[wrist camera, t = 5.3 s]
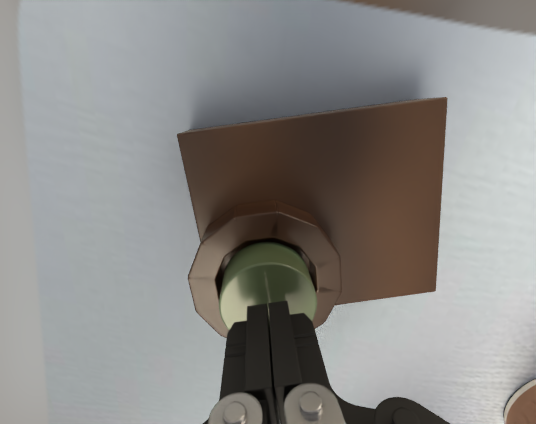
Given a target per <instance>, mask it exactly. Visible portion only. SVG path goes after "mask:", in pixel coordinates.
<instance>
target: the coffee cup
mask: <svg viewBox="0 0 536 424" xmlns="http://www.w3.org/2000/svg"><path fill="white" fill-rule="evenodd" d="M504 422H505V424H536V379H535V380H533V381H531V382H529V383H527V384H526V385H524V386H523V387H521V388H520V389H519V390H518V391H517V392H516V393H515V394H514V395H513V396H512V397H511V399H510V400H509V402H508V404H507V405H506V409H505V412H504Z"/></svg>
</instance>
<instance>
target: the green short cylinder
mask: <svg viewBox="0 0 536 424" xmlns="http://www.w3.org/2000/svg"><path fill="white" fill-rule="evenodd" d="M279 301H288V306H289V312H290V314H298V313H305V314H306V315H307V316H308V317H309V319H310V320H311V321H312V320H313V318H314V316H315V312H316V308H317V296H316V292H315V289H314V286H313V283H312V280H311V277H310V274H309V271H308V268H307V266H306V264H305V262H304V260H303V259H302V257H301V256H300V255H299V254H298V253H297V252H296V251H294V250H293V249H291V248H290V247H288V246H285V245H283V244H280V243H275V242H259V243H255V244H252V245H249V246H247V247H245V248H243V249H241V250H240V251H238V252H237V253H236V254H235V255H234V256H233V257H232V258H231V259H230V261H229V262H228V264H227V266H226V268H225V271H224V276H223V282H222V287H221V293H220V299H219V311H220V315H221V318H222V320H223V323H224V324H225V326H226V327H227V329H228V330H230V328H231V327H232V325H233V324H234V322H240V321H247V306H251V305H258V304H265V303H267V307H268V303H272V302H279ZM268 313H269V307H268Z"/></svg>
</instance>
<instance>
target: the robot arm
mask: <svg viewBox="0 0 536 424" xmlns="http://www.w3.org/2000/svg"><path fill="white" fill-rule="evenodd" d="M268 307H269V313H268ZM268 307H267V303H265V304H258V305H251V306H247V321H240V322H234V324H233V325H232V327H231V328H230V330H229V331H228V333H227V341H226V349H225V358H224V366H223V374H222V383H221V391H220V399H219V402H218V403H217V404H216V405H215V406H214V408H213V409H212V411H211V413H210V416H209V419H208V420H207V421H205V422H204V423H203V424H450V423H448V422H447V421H445V420H443V419H442V418H440V417H439V416H437V415H436V414H434V413H432V412H431V411H429V410H428V409H426V408H424V407H423V406H421V405H420V404H418V403H416V402H414V401H412V400H409V399H406V398H401V397H393V398H388V399H386V400H384V401H382V402H381V403H380V404H379V405H378V406H377V408H376V409H371V408H366V407H360V406H356V405H352V404H350V403H348V402H346V401H344V400H343V399H341V398H340V397H339V396H338V395H337V394H336V393H335V392H334V391H333V389H332V388H331V386H330V383H329V380H328V377H327V373H326V369H325V366H324V362H323V358H322V355H321V351H320V348H319V345H318V340H317V337H316V333H315V329H314V326H313V322H312V321H311V320H310V319H309V317H308V316H307V315H306V314H305V313H298V314H290V312H289V306H288V301H279V302H272V303H268Z"/></svg>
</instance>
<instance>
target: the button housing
mask: <svg viewBox="0 0 536 424" xmlns="http://www.w3.org/2000/svg"><path fill="white" fill-rule="evenodd" d="M446 113H447V98H446V97H441V98H427V99H414V100H407V101H399V102H392V103H385V104H377V105H370V106H362V107H355V108H348V109H340V110H333V111H326V112H318V113H311V114H304V115H296V116H289V117H282V118H274V119H267V120H260V121H252V122H245V123H238V124H230V125H223V126H215V127H208V128H201V129H193V130H188V131H185V132H182V133H179V134H177V138H178V142H179V147H180V151H181V156H182V160H183V165H184V169H185V174H186V178H187V183H188V187H189V192H190V197H191V201H192V206H193V210H194V215H195V219H196V224H197V228H198V233H199V237H200V242H201V243H200V245H199V248H198V251H197V253H196V256H195V259H194V261H193V264H192V267H191V269H190V272H189V274H188V281H189V285H190V289H191V293H192V297H193V301H194V306H195V310H196V311H197V313H198V314H199V315H200V316H201V317H202V318H203V319H204V320H205V321H206V322H207V323H208V324H209V325H210V326H211V327H212V328H213V329H214V330H215V331H216V332H217V333H218V334H220V335H221V336H223V337H225V338H227V333H228V331H229V330H228V329H227V327H226V326H225V324H224V323H223V320H222V318H221V315H220V311H219V299H220V293H221V287H222V282H223V276H224V271H225V268H226V266H227V264H228V262H229V261H230V259H231V258H232V257H233V256H234V255H235V254H236V253H237V252H238V251H240V250H241V249H243V248H245V247H247V246H249V245H252V244H255V243H259V242H275V243H280V244H283V245H285V246H288V247H290V248H291V249H293V250H294V251H296V252H297V253H298V254H299V255H300V256H301V257H302V259H303V260H304V262H305V264H306V266H307V268H308V271H309V274H310V277H311V280H312V283H313V286H314V289H315V292H316V296H317V308H316V312H315V316H314V318H313V320H312V322H313V326H314V329H315V328H317V327H318V326H320V325H322V324H323V323H324V322H325V321H326V319H327V318H328V316H329V314H330V312H331V311H332V309H333V307H334V305H339V304H347V303H354V302H361V301H368V300H376V299H383V298H390V297H397V296H405V295H412V294H419V293H426V292H434V291H436V276H437V260H438V243H439V227H440V211H441V195H442V178H443V162H444V146H445V129H446Z"/></svg>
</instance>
